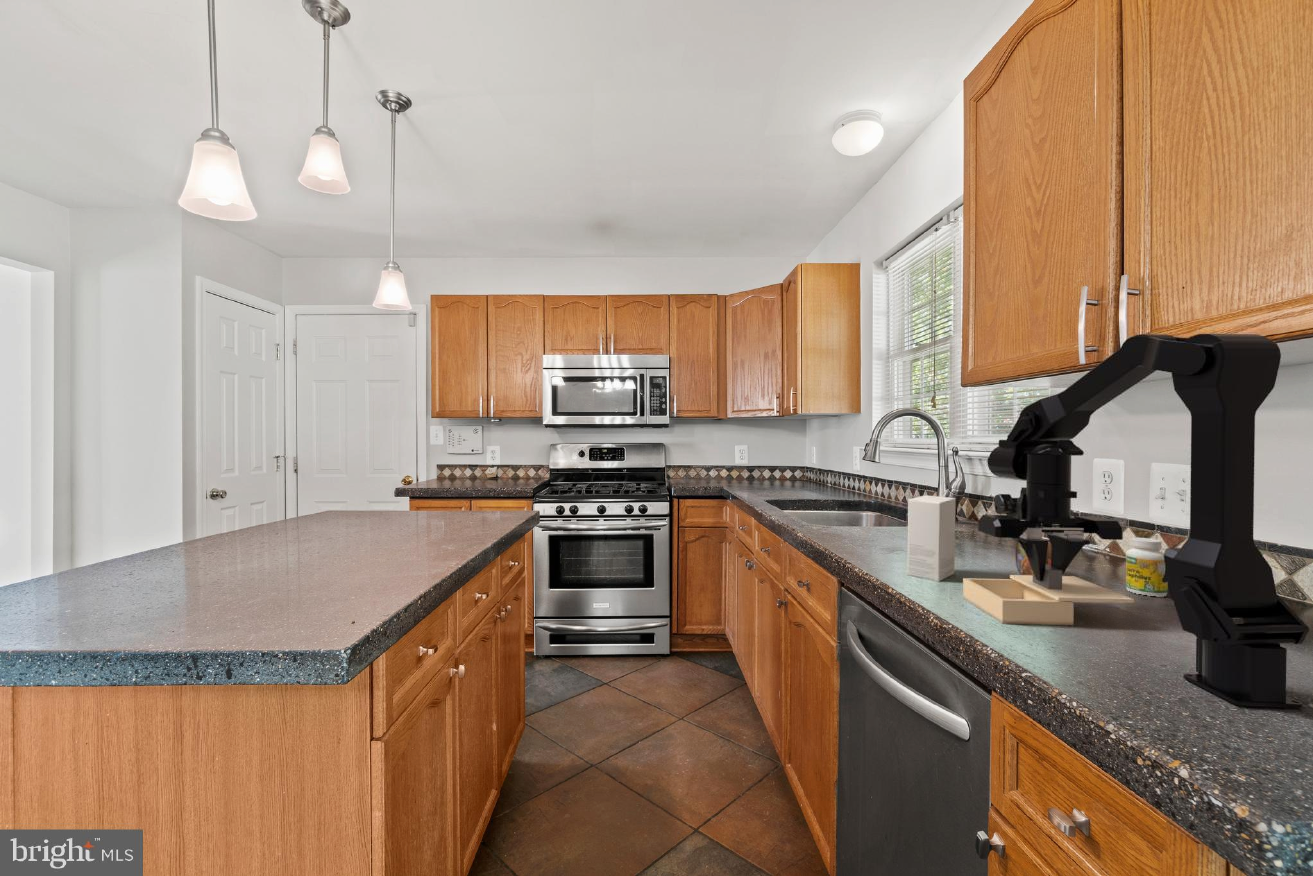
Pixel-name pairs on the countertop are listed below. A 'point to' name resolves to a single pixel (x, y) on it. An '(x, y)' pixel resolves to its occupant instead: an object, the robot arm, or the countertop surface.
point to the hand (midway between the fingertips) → (1047, 580)
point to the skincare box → (931, 537)
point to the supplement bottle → (1145, 568)
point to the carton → (1016, 602)
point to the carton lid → (1069, 587)
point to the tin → (1023, 561)
